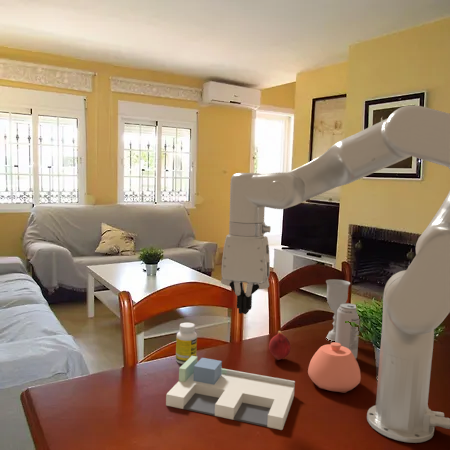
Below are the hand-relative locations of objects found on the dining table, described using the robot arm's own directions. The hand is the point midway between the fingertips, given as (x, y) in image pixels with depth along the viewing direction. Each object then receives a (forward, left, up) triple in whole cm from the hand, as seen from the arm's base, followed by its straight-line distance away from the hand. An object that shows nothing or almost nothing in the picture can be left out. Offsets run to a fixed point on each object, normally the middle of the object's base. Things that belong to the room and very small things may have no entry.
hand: (244, 311), depth 97 cm
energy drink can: (-22, -30, -19) cm, 41 cm away
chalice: (-18, -44, -19) cm, 51 cm away
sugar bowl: (-20, -14, -19) cm, 31 cm away
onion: (-5, -22, -19) cm, 29 cm away
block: (+8, 0, -17) cm, 18 cm away
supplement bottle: (+18, -12, -19) cm, 29 cm away
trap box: (+1, +4, -19) cm, 20 cm away
